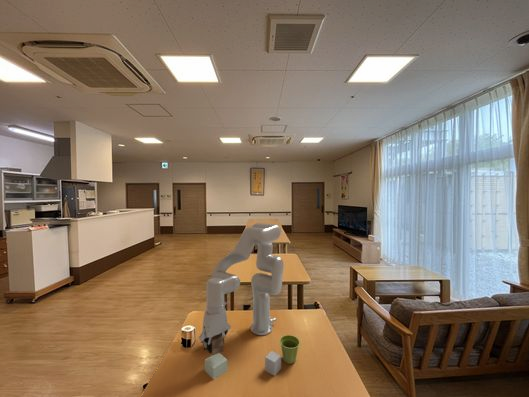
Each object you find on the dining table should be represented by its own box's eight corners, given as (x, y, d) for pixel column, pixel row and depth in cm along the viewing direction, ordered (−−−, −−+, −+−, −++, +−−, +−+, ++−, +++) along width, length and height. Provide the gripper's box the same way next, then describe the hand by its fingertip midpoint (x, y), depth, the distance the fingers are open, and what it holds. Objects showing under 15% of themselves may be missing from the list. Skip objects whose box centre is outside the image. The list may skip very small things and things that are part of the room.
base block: (218, 362, 106) (218, 351, 106) (227, 370, 101) (227, 359, 101) (204, 370, 101) (204, 359, 101) (213, 380, 96) (213, 368, 96)
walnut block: (218, 344, 104) (218, 331, 104) (223, 350, 100) (223, 337, 100) (207, 349, 101) (207, 335, 101) (212, 355, 97) (212, 341, 97)
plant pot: (301, 354, 111) (301, 337, 110) (297, 369, 102) (297, 350, 102) (282, 350, 114) (282, 333, 114) (277, 364, 105) (277, 345, 105)
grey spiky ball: (211, 356, 115) (212, 348, 109) (196, 348, 116) (196, 340, 110) (220, 338, 122) (221, 330, 116) (206, 331, 123) (207, 322, 117)
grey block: (271, 363, 105) (271, 350, 105) (281, 368, 102) (281, 355, 102) (265, 370, 101) (265, 357, 101) (274, 376, 98) (274, 362, 98)
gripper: (228, 298, 108) (228, 337, 109) (193, 310, 98) (193, 352, 98) (236, 305, 103) (236, 345, 103) (200, 317, 92) (200, 362, 93)
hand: (215, 348), depth 101 cm, fingers closed on walnut block, 5 cm apart
